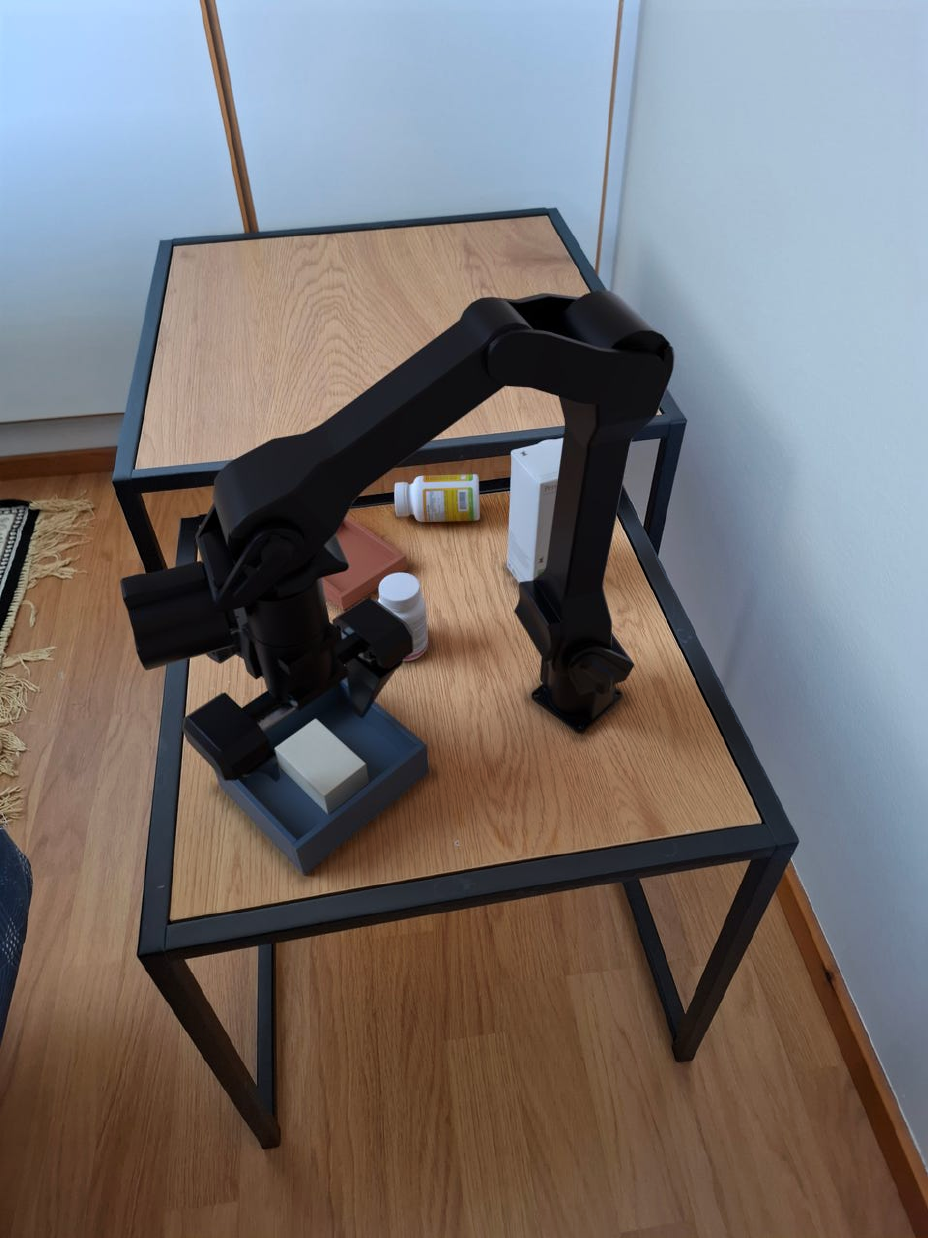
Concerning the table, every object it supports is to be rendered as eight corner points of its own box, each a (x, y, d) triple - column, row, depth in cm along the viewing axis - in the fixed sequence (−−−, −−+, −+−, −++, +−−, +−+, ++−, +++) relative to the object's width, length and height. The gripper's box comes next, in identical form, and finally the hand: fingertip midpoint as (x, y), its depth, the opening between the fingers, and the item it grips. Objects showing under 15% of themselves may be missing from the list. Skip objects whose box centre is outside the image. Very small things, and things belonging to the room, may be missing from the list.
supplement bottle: (479, 491, 105) (399, 493, 106) (478, 464, 101) (394, 466, 101) (480, 529, 103) (398, 531, 103) (479, 503, 98) (393, 506, 98)
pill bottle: (433, 632, 91) (429, 573, 85) (421, 666, 88) (417, 607, 82) (389, 625, 92) (382, 566, 86) (376, 658, 88) (368, 599, 82)
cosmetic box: (530, 602, 94) (537, 486, 82) (503, 565, 98) (506, 449, 87) (598, 580, 96) (614, 463, 85) (569, 544, 100) (580, 428, 89)
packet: (369, 783, 77) (366, 763, 75) (328, 815, 75) (324, 796, 73) (320, 737, 81) (315, 717, 79) (279, 767, 79) (274, 748, 76)
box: (429, 773, 79) (427, 744, 76) (304, 876, 72) (296, 850, 69) (343, 698, 85) (338, 669, 82) (220, 787, 78) (209, 759, 75)
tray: (407, 569, 98) (406, 555, 96) (343, 611, 93) (341, 597, 92) (343, 523, 103) (341, 510, 102) (280, 561, 99) (277, 548, 97)
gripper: (320, 511, 72) (343, 639, 83) (117, 629, 63) (172, 754, 74) (412, 575, 66) (422, 703, 78) (202, 715, 57) (249, 837, 69)
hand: (318, 745), depth 75 cm, fingers open, 9 cm apart
